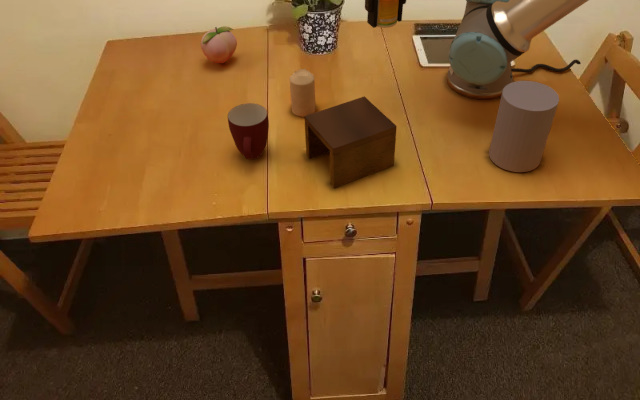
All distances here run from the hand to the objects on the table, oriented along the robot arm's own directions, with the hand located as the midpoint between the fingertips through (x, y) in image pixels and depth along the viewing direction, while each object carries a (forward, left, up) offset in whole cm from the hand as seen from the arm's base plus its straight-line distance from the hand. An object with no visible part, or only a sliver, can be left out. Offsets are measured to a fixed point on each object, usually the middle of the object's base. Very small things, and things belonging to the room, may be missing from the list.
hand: (384, 21), depth 124 cm
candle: (+18, -4, -19) cm, 27 cm away
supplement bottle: (0, 0, -1) cm, 1 cm away
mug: (+35, +6, -19) cm, 40 cm away
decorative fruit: (+27, -34, -19) cm, 48 cm away
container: (-12, +33, -19) cm, 40 cm away
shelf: (+18, +17, -19) cm, 31 cm away
